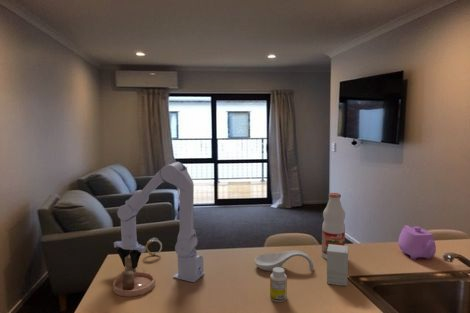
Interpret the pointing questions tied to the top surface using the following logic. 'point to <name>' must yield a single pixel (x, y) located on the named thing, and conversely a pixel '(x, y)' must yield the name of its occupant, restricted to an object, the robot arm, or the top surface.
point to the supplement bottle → (278, 285)
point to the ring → (151, 242)
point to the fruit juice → (333, 223)
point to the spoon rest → (279, 259)
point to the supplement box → (337, 264)
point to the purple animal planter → (417, 242)
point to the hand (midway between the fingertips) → (130, 266)
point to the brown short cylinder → (128, 280)
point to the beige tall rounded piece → (128, 264)
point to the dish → (135, 285)
